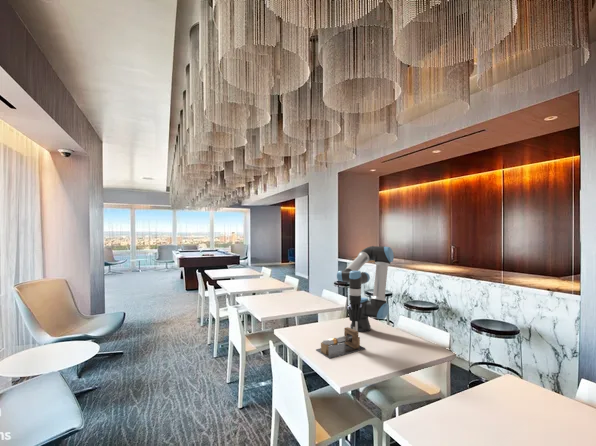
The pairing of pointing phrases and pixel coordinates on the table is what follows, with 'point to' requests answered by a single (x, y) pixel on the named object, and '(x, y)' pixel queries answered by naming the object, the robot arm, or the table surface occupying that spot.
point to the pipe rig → (338, 347)
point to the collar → (354, 337)
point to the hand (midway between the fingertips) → (355, 331)
